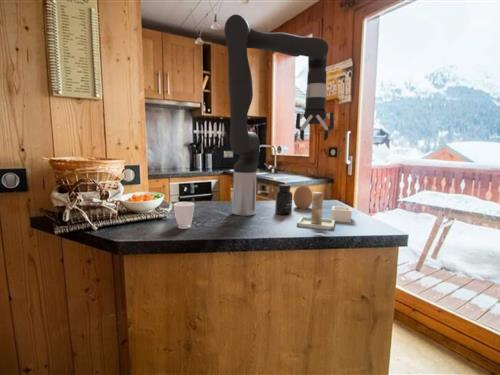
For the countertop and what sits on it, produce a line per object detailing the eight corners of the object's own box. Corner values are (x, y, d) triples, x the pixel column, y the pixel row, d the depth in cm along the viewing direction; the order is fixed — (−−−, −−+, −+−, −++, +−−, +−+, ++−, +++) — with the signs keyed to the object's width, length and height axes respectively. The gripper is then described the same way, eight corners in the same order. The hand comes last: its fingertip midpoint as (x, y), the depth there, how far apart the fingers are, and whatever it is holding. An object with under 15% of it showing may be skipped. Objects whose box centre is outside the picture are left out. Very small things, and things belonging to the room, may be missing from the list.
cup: (172, 230, 96) (172, 206, 95) (175, 222, 106) (175, 200, 105) (194, 229, 97) (194, 205, 96) (195, 221, 107) (195, 199, 106)
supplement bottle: (291, 216, 118) (292, 186, 116) (274, 215, 119) (275, 185, 118) (292, 212, 125) (293, 184, 123) (276, 211, 126) (276, 183, 124)
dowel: (310, 224, 102) (312, 193, 100) (311, 222, 105) (313, 191, 103) (320, 225, 101) (322, 194, 99) (321, 223, 104) (323, 192, 102)
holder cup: (330, 222, 109) (331, 209, 108) (331, 218, 115) (332, 205, 115) (350, 224, 107) (351, 211, 106) (350, 220, 113) (351, 207, 112)
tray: (296, 228, 100) (296, 222, 100) (301, 221, 110) (301, 216, 109) (333, 232, 97) (333, 226, 96) (334, 224, 106) (334, 219, 106)
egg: (300, 206, 136) (301, 182, 134) (315, 209, 130) (316, 184, 128) (289, 209, 130) (290, 184, 128) (305, 212, 124) (306, 186, 123)
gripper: (295, 96, 110) (293, 140, 113) (334, 95, 106) (332, 140, 108) (298, 99, 117) (297, 140, 120) (335, 98, 113) (333, 141, 115)
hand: (313, 140), depth 114 cm, fingers open, 8 cm apart
